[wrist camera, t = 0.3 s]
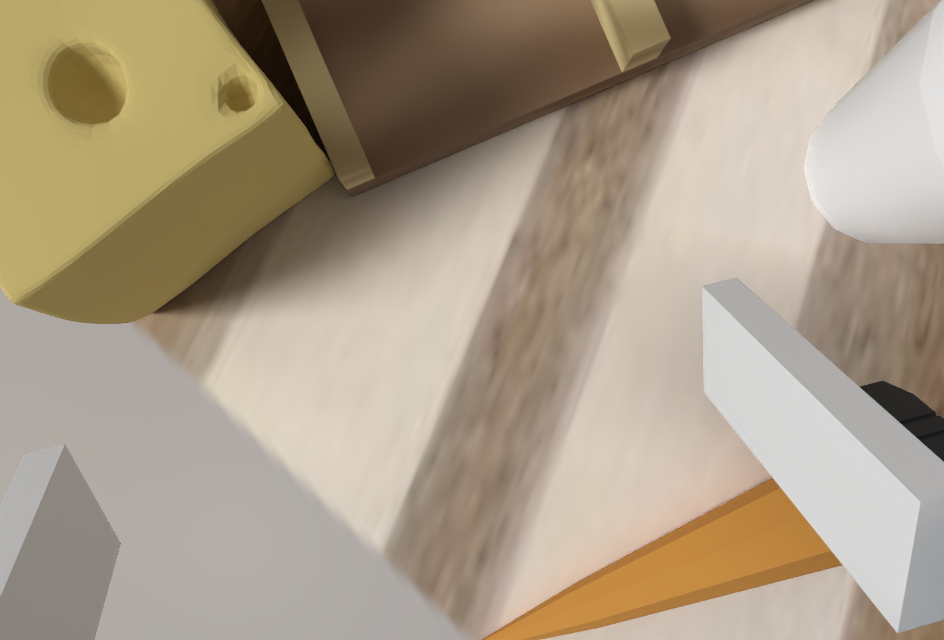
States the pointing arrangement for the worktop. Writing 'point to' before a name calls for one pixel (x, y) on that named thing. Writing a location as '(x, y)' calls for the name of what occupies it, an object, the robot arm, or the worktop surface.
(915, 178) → the foam cup
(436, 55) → the rack
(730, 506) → the carrot
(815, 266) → the worktop surface
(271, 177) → the cheese
